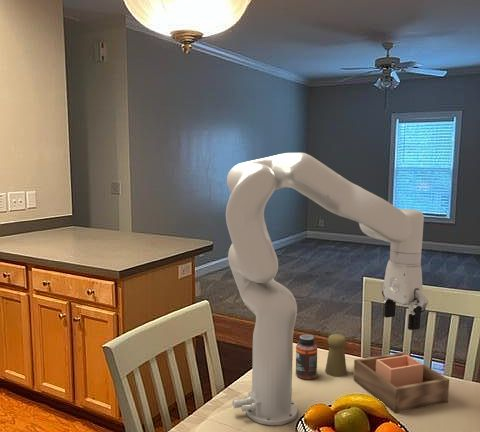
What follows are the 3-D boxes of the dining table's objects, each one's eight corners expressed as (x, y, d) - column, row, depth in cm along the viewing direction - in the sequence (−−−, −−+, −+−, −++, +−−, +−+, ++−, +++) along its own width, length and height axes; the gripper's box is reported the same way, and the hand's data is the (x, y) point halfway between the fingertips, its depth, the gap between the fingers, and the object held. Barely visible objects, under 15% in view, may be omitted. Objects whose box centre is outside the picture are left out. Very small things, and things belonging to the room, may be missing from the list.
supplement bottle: (320, 374, 138) (321, 335, 136) (311, 382, 133) (312, 342, 131) (301, 369, 141) (301, 331, 139) (291, 376, 136) (292, 337, 134)
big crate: (394, 413, 117) (395, 389, 116) (353, 380, 134) (354, 359, 133) (447, 402, 122) (449, 379, 122) (401, 372, 139) (402, 352, 138)
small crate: (389, 395, 123) (391, 369, 122) (374, 384, 129) (376, 359, 128) (422, 389, 127) (423, 364, 126) (405, 379, 133) (407, 354, 132)
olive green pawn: (346, 378, 135) (348, 340, 134) (324, 376, 136) (326, 338, 135) (346, 368, 141) (347, 332, 140) (325, 366, 142) (326, 330, 141)
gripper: (372, 252, 130) (369, 313, 133) (416, 266, 114) (411, 336, 116) (396, 250, 133) (392, 311, 135) (441, 264, 117) (436, 332, 119)
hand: (401, 322), depth 126 cm, fingers open, 9 cm apart
